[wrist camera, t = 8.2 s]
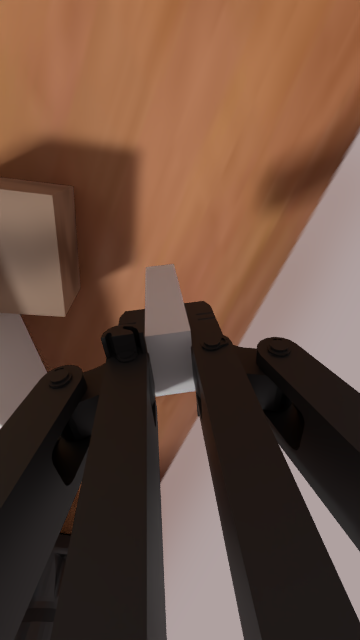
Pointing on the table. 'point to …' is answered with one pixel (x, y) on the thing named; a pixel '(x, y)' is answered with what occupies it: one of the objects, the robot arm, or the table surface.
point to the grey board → (16, 364)
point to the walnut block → (37, 248)
